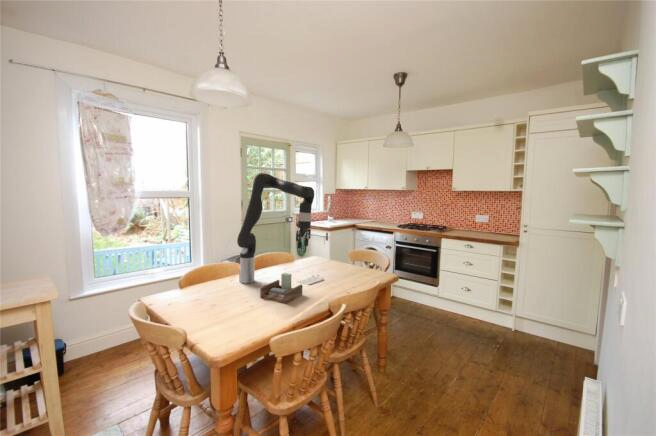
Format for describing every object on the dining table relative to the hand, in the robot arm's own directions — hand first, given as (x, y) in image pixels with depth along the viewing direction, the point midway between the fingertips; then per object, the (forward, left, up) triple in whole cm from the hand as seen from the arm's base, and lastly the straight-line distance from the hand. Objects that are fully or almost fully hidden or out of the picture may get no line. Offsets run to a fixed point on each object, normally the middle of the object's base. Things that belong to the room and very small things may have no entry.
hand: (302, 246), depth 170 cm
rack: (-6, -13, -29) cm, 32 cm away
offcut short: (-7, -15, -25) cm, 30 cm away
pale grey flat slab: (-10, +15, -30) cm, 35 cm away
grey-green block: (-6, -8, -28) cm, 29 cm away
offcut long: (-6, -15, -28) cm, 32 cm away
